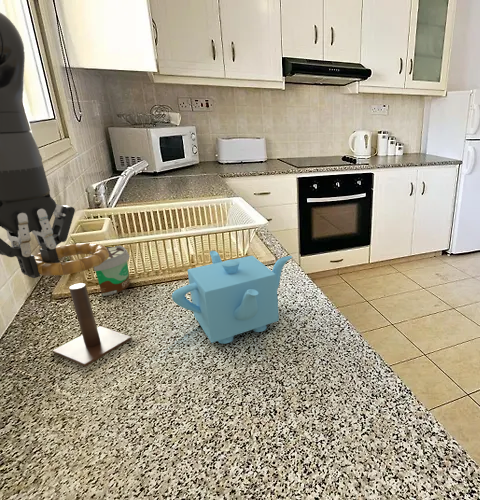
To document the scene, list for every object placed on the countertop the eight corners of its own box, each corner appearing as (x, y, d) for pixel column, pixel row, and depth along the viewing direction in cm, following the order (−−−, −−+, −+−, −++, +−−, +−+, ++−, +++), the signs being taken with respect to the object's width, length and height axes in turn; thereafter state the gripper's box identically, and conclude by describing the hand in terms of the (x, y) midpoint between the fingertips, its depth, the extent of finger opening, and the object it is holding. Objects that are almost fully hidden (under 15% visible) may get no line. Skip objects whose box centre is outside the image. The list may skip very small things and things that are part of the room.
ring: (15, 269, 61) (11, 258, 60) (83, 248, 71) (80, 238, 70) (58, 282, 57) (54, 270, 56) (123, 258, 67) (121, 247, 66)
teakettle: (171, 346, 72) (159, 277, 67) (217, 299, 89) (211, 241, 84) (265, 357, 70) (261, 287, 64) (294, 307, 87) (292, 248, 81)
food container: (132, 298, 89) (123, 259, 85) (102, 302, 87) (92, 262, 83) (138, 276, 99) (131, 241, 96) (111, 280, 97) (103, 244, 94)
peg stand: (54, 357, 68) (32, 291, 63) (101, 331, 76) (86, 271, 71) (86, 371, 65) (67, 303, 60) (133, 343, 73) (119, 280, 68)
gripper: (45, 157, 61) (72, 255, 67) (-70, 169, 49) (-24, 286, 55) (75, 160, 58) (100, 262, 65) (-39, 174, 46) (5, 297, 53)
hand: (42, 273), depth 60 cm, fingers closed on ring, 2 cm apart
